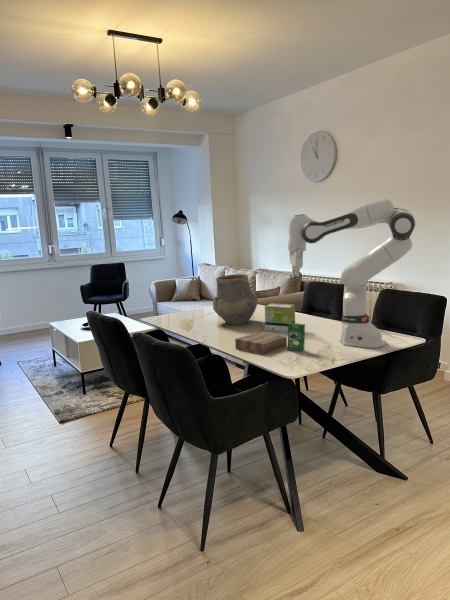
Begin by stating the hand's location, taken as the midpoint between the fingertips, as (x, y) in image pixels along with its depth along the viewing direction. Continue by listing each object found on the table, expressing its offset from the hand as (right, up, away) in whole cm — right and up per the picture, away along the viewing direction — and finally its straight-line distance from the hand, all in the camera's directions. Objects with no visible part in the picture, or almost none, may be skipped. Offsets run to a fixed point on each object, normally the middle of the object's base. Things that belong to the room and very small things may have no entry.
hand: (295, 274), depth 231 cm
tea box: (-4, -30, +32) cm, 44 cm away
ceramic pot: (-29, -27, +58) cm, 70 cm away
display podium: (-18, -36, -5) cm, 41 cm away
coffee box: (-1, -37, -12) cm, 39 cm away
